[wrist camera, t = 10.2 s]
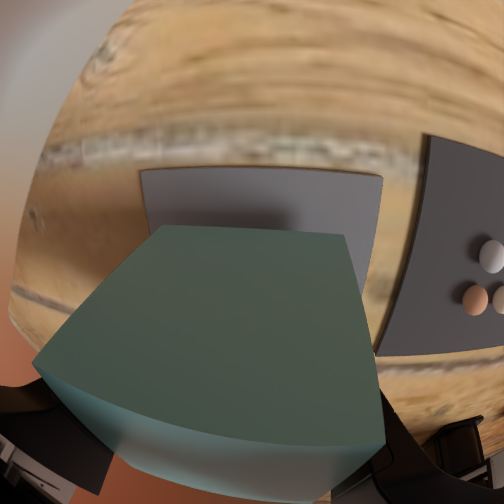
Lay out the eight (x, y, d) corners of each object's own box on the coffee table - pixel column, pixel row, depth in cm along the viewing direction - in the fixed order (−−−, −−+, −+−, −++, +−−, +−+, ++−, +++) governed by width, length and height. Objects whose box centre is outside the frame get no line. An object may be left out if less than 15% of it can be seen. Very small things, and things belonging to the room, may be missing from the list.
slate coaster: (380, 175, 10) (383, 178, 9) (342, 352, 14) (343, 357, 14) (145, 169, 11) (140, 171, 11) (177, 335, 16) (175, 339, 16)
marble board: (566, 187, 6) (582, 197, 5) (506, 341, 12) (515, 357, 11) (428, 135, 8) (447, 139, 7) (374, 352, 14) (379, 375, 13)
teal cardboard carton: (343, 234, 9) (385, 443, 3) (319, 360, 12) (311, 503, 6) (162, 224, 10) (31, 362, 4) (187, 345, 13) (132, 467, 7)
